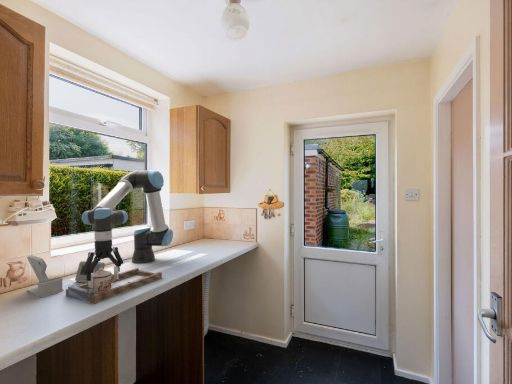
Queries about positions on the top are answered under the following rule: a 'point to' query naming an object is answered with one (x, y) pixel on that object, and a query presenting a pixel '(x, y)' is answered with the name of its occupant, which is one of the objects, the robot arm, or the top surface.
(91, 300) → the open rectangular wooden frame
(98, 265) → the digital clock
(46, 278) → the phone holder
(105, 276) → the teacup with lid
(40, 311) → the top surface
